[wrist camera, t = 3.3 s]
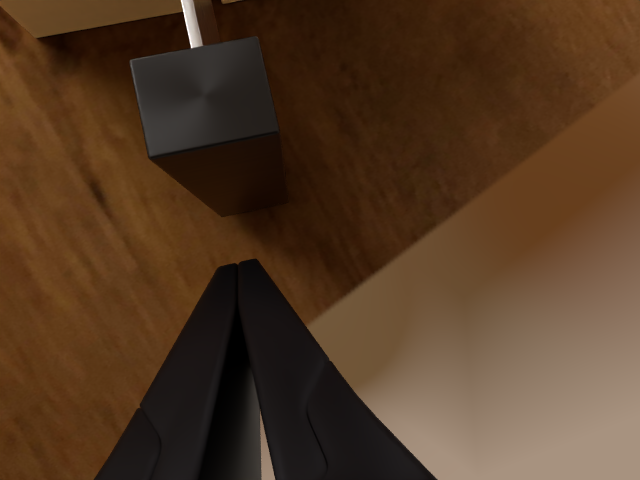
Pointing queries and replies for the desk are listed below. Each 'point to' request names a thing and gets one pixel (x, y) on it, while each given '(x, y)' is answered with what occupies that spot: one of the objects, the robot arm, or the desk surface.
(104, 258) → the desk surface
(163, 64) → the cake knife
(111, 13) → the loaf cake
